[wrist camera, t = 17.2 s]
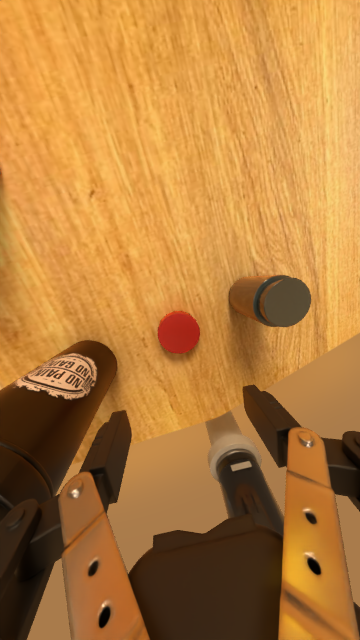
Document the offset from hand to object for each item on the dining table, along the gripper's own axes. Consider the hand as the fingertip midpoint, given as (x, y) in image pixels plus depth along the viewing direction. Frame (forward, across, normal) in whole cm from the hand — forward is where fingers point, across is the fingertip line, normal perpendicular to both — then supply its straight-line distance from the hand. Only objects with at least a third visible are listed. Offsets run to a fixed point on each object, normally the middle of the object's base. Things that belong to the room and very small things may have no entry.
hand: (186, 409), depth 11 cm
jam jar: (+17, -12, -4) cm, 21 cm away
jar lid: (+16, -1, 0) cm, 16 cm away
